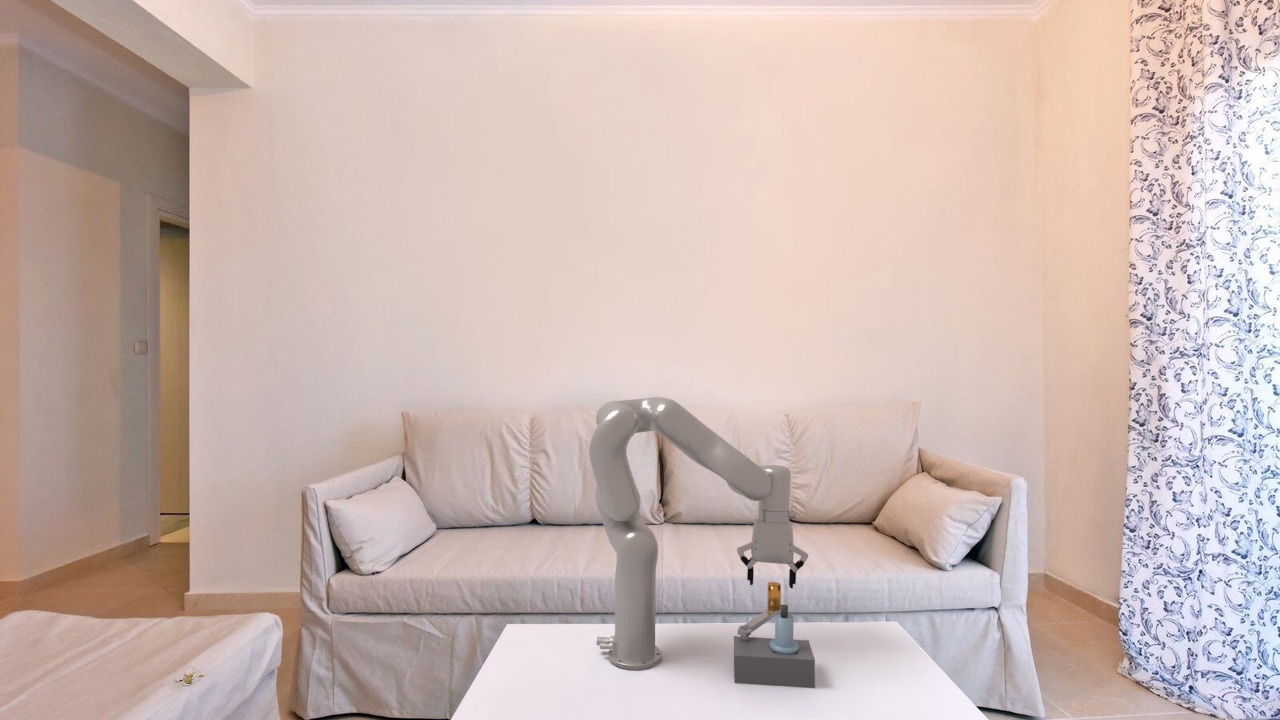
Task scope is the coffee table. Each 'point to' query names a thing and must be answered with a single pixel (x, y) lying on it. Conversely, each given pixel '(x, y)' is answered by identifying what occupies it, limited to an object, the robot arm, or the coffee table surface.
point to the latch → (772, 610)
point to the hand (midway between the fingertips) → (771, 585)
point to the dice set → (190, 678)
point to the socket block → (772, 664)
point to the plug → (784, 634)
